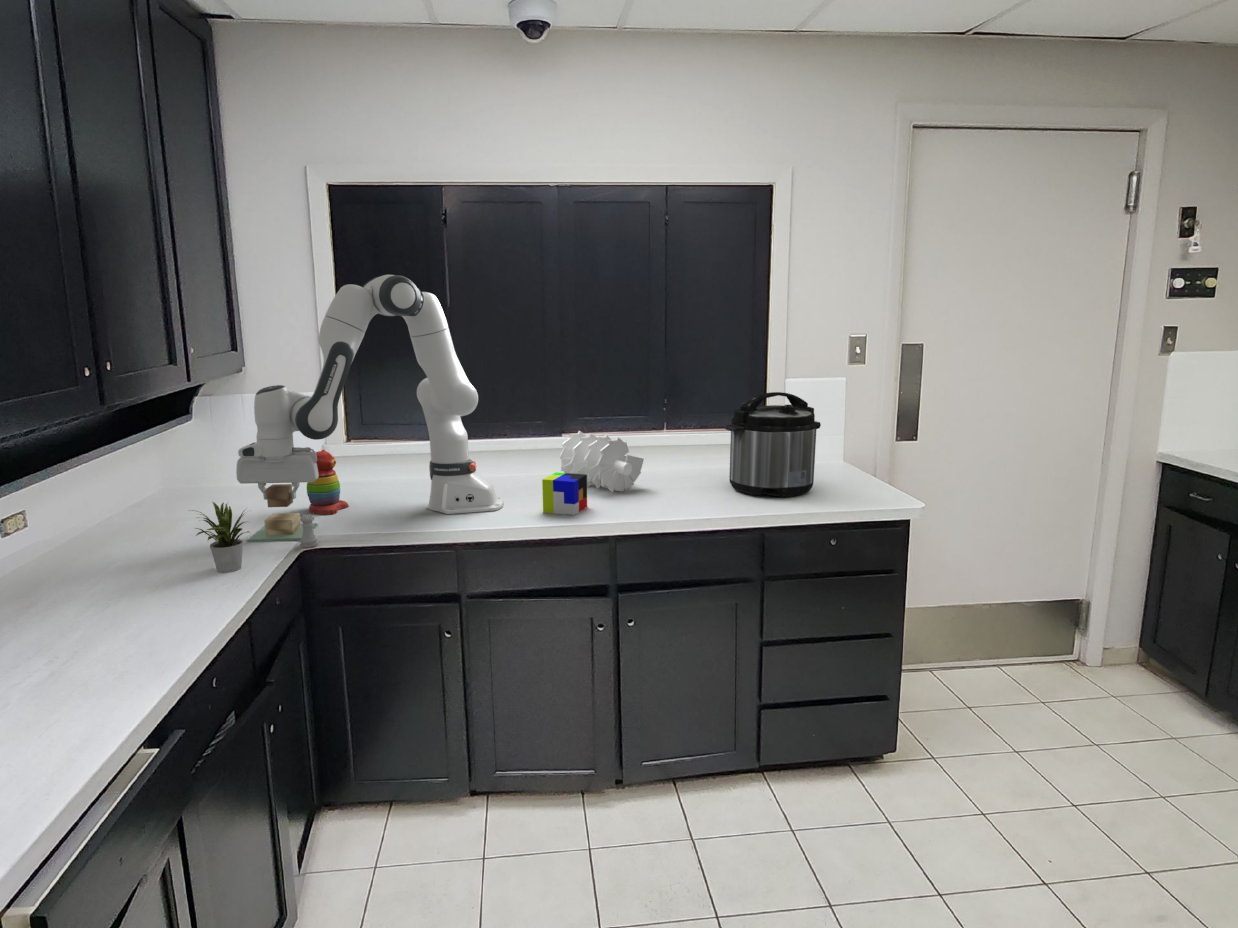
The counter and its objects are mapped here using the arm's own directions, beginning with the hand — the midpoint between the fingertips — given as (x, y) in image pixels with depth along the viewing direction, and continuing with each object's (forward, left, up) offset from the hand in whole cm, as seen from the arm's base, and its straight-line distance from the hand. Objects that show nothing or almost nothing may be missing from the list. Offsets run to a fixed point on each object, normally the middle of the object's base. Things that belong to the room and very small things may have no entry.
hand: (280, 498), depth 218 cm
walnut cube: (0, 0, -2) cm, 2 cm away
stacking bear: (-5, -24, -10) cm, 26 cm away
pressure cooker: (-143, -36, -10) cm, 148 cm away
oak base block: (0, 0, -9) cm, 9 cm away
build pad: (0, 0, -10) cm, 10 cm away
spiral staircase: (-88, -44, -10) cm, 99 cm away
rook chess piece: (-10, +12, -10) cm, 18 cm away
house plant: (+5, +28, -10) cm, 30 cm away
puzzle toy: (-76, -17, -10) cm, 79 cm away
